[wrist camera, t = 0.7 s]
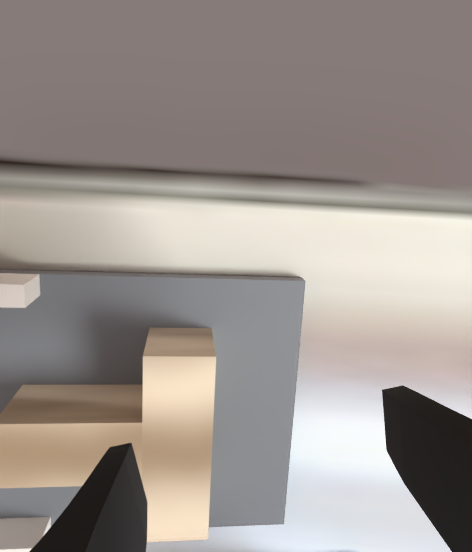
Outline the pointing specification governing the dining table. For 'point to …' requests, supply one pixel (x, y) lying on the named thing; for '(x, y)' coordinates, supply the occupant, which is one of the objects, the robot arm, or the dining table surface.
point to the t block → (126, 432)
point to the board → (129, 369)
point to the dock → (28, 531)
